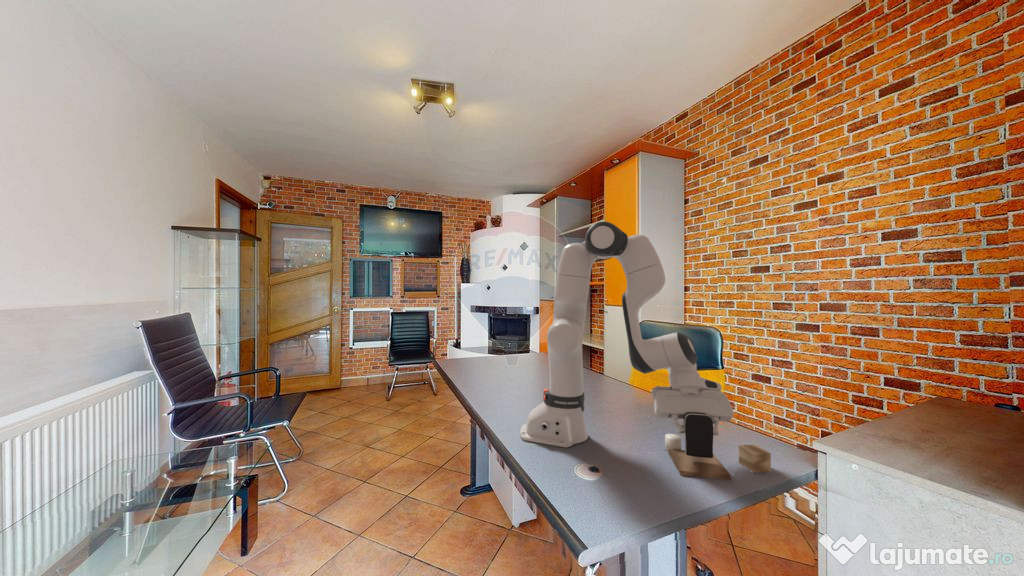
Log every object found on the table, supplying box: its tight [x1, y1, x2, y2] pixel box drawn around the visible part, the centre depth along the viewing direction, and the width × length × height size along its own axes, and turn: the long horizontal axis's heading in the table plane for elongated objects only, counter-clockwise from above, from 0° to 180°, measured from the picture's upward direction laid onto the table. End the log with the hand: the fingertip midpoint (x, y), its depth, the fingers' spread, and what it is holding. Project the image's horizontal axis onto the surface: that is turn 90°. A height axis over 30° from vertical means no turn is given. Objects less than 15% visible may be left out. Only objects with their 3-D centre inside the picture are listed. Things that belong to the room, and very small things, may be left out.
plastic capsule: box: [664, 433, 682, 452], centre depth 102 cm, size 4×4×4 cm
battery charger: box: [682, 412, 714, 458], centre depth 93 cm, size 7×4×11 cm, turn 75°
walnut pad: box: [667, 449, 732, 481], centre depth 93 cm, size 12×12×1 cm
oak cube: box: [738, 444, 772, 473], centre depth 92 cm, size 5×5×5 cm
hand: (698, 433), depth 92 cm, fingers closed on battery charger, 7 cm apart
